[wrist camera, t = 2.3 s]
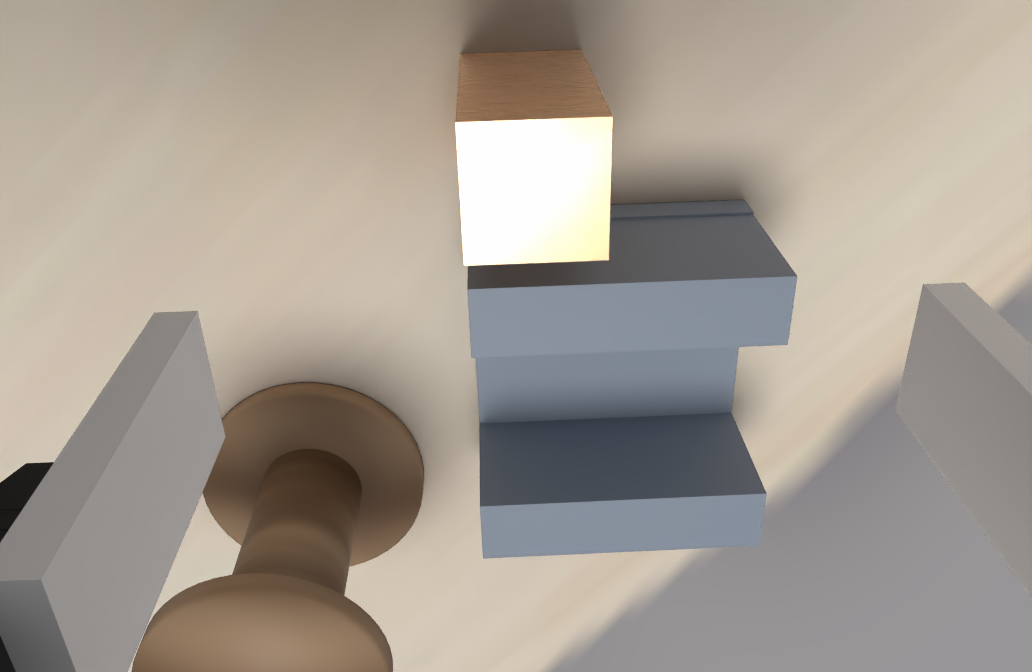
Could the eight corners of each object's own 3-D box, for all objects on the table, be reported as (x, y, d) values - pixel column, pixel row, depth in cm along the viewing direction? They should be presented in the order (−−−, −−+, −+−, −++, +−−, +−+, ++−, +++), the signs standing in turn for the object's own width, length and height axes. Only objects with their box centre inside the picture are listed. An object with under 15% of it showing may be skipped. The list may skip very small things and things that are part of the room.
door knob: (187, 387, 36) (81, 592, 26) (414, 377, 36) (392, 578, 26) (228, 557, 40) (151, 786, 31) (431, 548, 40) (417, 773, 31)
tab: (460, 53, 30) (455, 122, 23) (580, 49, 30) (612, 116, 23) (466, 169, 32) (464, 265, 25) (579, 165, 32) (608, 260, 25)
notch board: (468, 210, 32) (467, 286, 27) (744, 199, 33) (797, 273, 27) (482, 456, 38) (483, 560, 32) (718, 445, 38) (758, 547, 33)
